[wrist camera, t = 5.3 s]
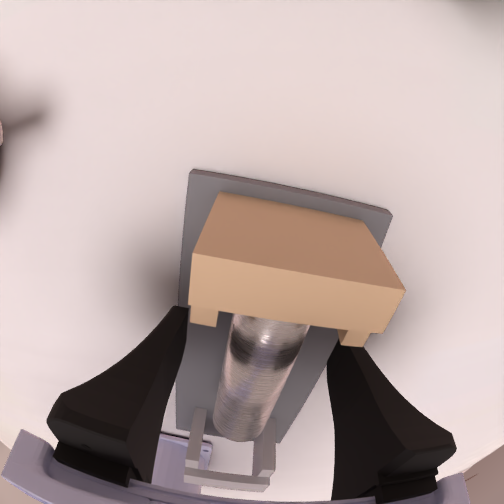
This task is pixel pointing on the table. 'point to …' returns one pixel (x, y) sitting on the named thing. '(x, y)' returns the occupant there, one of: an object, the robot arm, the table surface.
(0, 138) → the cup
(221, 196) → the board
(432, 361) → the table surface
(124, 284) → the table surface
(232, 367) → the tube
